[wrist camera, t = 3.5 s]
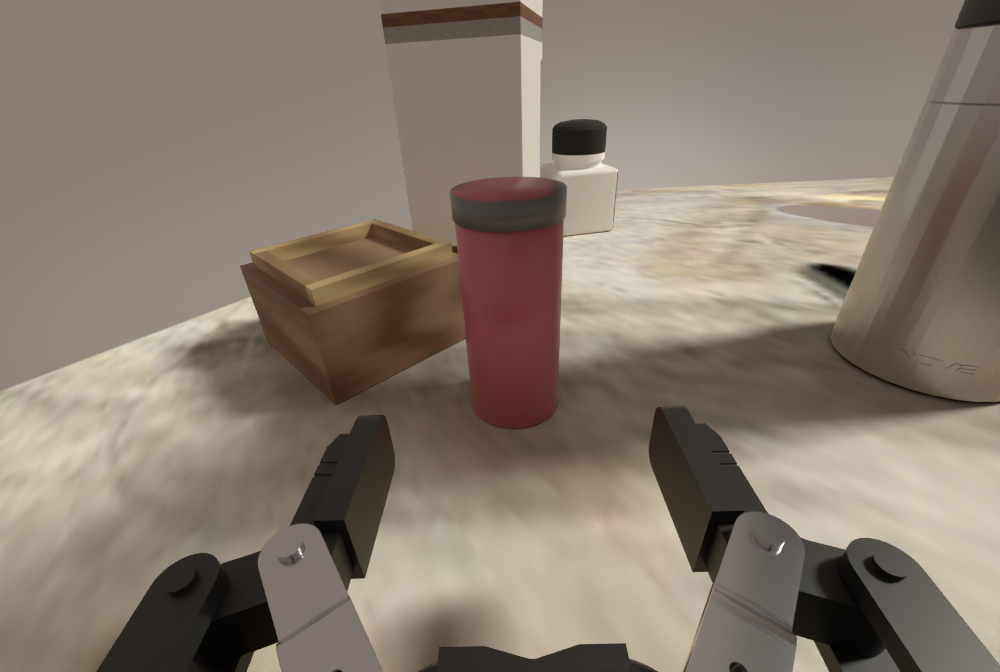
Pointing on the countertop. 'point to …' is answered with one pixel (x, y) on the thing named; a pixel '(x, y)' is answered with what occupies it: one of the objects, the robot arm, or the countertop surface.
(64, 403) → the countertop surface
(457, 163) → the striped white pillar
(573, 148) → the medicine bottle
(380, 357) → the wooden box
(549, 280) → the red lidded canister
